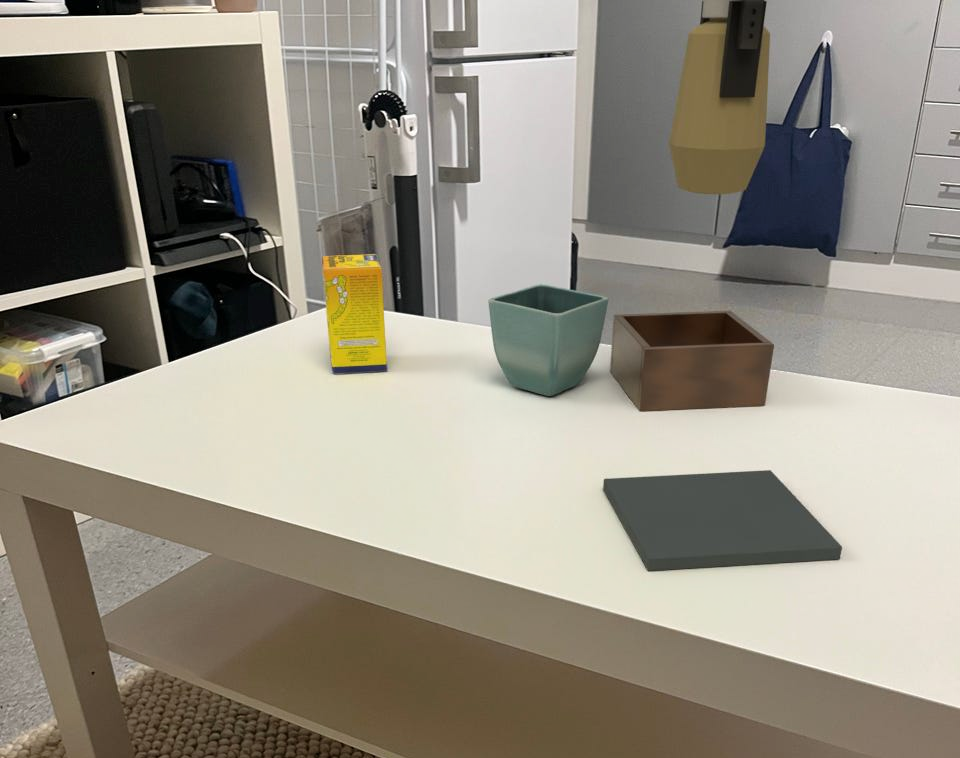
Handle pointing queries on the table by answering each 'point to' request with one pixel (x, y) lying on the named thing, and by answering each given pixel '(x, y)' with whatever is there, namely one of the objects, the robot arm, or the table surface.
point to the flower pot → (546, 336)
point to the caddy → (690, 360)
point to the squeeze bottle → (716, 114)
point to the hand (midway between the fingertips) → (722, 93)
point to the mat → (717, 520)
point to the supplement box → (355, 313)
